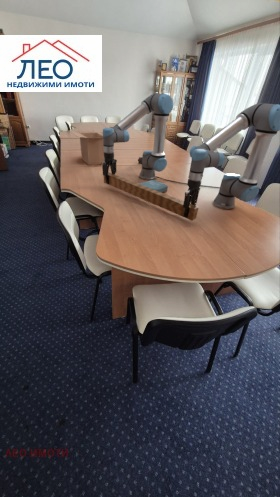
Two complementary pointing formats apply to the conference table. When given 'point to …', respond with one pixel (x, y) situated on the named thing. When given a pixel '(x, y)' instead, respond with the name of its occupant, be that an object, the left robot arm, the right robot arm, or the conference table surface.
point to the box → (91, 146)
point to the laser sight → (140, 160)
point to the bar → (152, 196)
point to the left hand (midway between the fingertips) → (110, 182)
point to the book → (155, 185)
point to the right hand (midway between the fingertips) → (187, 215)
